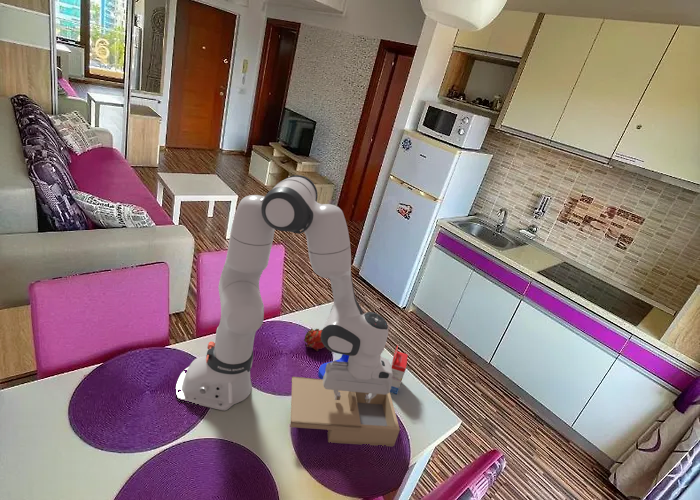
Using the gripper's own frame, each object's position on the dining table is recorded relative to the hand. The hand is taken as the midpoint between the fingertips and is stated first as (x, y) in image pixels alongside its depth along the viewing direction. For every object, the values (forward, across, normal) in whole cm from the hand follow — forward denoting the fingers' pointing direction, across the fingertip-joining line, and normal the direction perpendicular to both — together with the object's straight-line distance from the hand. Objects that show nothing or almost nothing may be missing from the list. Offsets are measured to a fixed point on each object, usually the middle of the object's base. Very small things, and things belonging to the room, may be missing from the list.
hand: (351, 399), depth 121 cm
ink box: (+9, +19, +18) cm, 28 cm away
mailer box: (+9, +4, 0) cm, 10 cm away
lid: (+3, -8, 0) cm, 9 cm away
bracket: (+10, +1, +22) cm, 24 cm away
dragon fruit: (+9, -8, +35) cm, 37 cm away
